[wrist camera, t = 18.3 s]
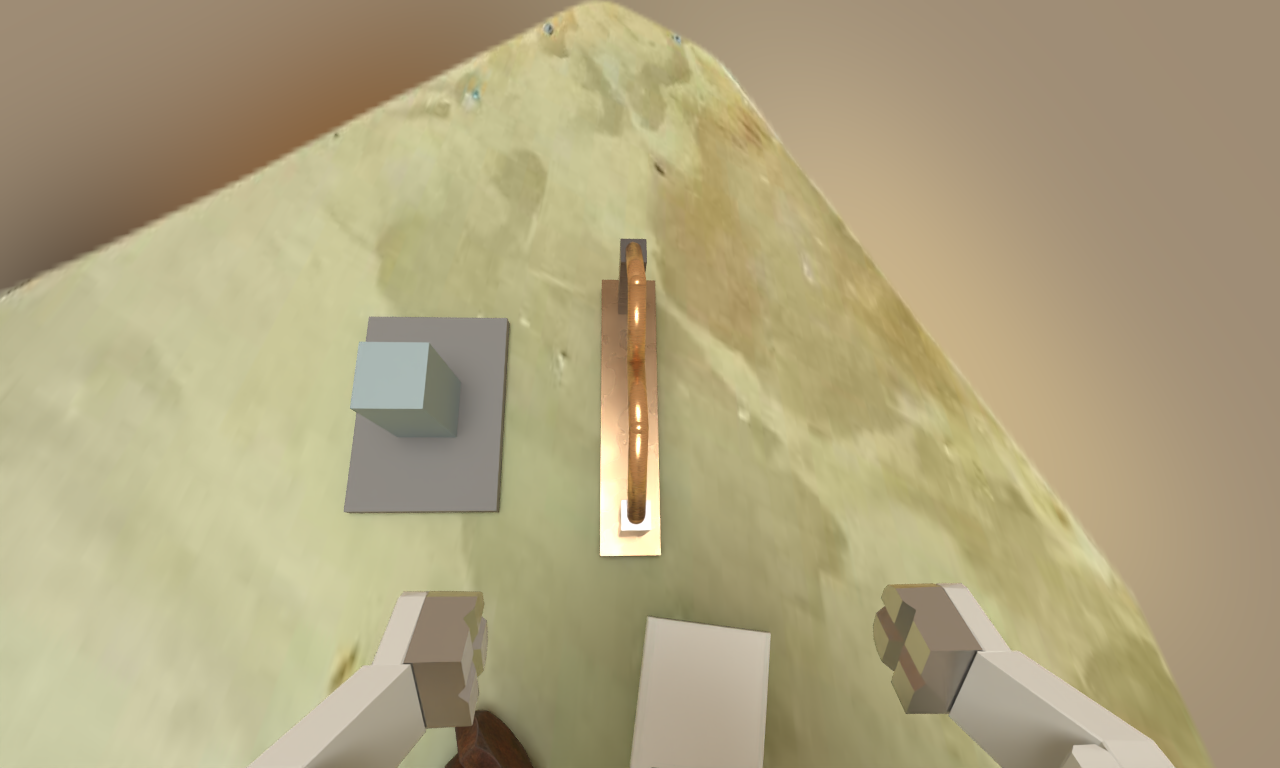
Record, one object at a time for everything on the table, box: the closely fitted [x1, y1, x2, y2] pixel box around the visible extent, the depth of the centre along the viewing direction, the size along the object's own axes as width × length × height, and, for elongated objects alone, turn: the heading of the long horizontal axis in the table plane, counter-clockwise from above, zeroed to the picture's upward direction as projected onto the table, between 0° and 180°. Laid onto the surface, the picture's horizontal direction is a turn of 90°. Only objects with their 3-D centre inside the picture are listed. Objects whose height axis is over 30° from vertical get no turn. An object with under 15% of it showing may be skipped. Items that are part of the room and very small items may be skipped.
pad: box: [344, 317, 509, 513], centre depth 42 cm, size 14×10×1 cm
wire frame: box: [600, 239, 661, 556], centre depth 37 cm, size 20×4×14 cm, turn 1°
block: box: [350, 342, 461, 437], centre depth 38 cm, size 4×4×8 cm
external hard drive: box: [629, 616, 771, 768], centre depth 37 cm, size 2×8×12 cm
